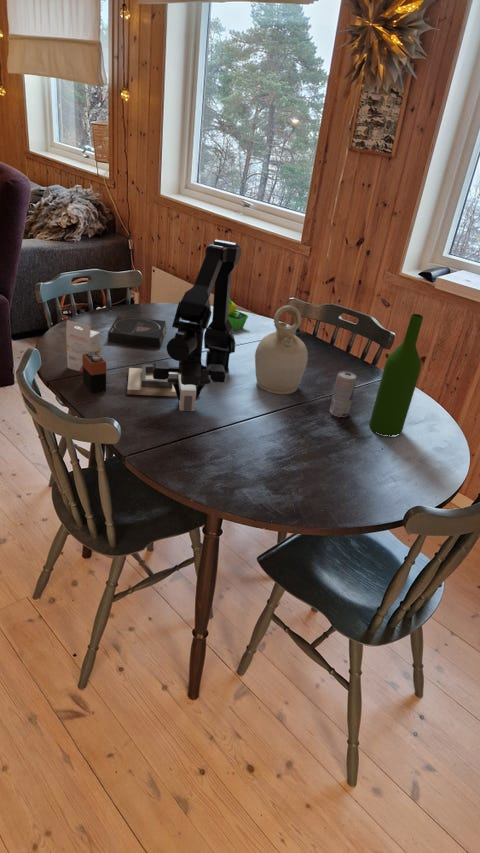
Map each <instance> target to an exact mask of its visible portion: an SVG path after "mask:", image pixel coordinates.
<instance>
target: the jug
mask: <svg viewBox="0 0 480 853" xmlns="http://www.w3.org/2000/svg"><path fill="white" fill-rule="evenodd" d="M286 312H292V313H293V314H294V316H295V322H294V323H293V324H292V325H290V326H288V323H287V322H284V321H282V322H280V318H281V316H282V315H283V314H284V313H286ZM301 315H302V314H301V313H300V311H299V309H298V308H296V307H295V306H294V305H290V304H287V305H283V306H281V307H280V308H278V309H277V311H276V312H275V314H274V317H273V323H274V324H273V325H274V327H275V329H276V330H275V331H274V332H272V333H269V334H267V335H265V336H264V337H263V338H262V339H260V341H259V343H258V345H257V346H256V349H255V352H254V354H255V355H254V364H255V378H256V383H257V386H258V387H259V388H260V389H261V390H263V391H265V392H267V393H270V394H274V395H282V396H283V395H289V394H294V393H295V392H296V391H297V390H298V386H299V385H300V383H301V381H302V378H303V376H304V373H305V370H306V369H307V365H308V360H309V359H308V357H309V356H308V349H307V346H306V345H305V343H304V342H303V341H302V339H301V338H299V337H298V336H297V335H296V334H294V332H295V331H297V329H299V327H300V325H301V322H302V316H301Z"/></svg>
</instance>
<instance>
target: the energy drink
mask: <svg viewBox="0 0 480 853" xmlns="http://www.w3.org/2000/svg"><path fill="white" fill-rule="evenodd" d="M357 377H358V376H357V375H356V374H355V373H353V372H351V371H349V370H348V371H346V370H341V371H339V372H338V373H337V376H336V380H335V384H334V388H333V394H332V398H331V402H330V407H329V412H330V414H331V415H332V416H333V415H334V417H336V416H337V417H336V418H340V417H343V418H346V417H348V416H349V412H350V408H351V406H352V405H351V404H352V401H353V396H354V394H355V393H354V392H355V388H356V383H357Z"/></svg>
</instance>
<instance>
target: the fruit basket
mask: <svg viewBox="0 0 480 853" xmlns="http://www.w3.org/2000/svg"><path fill="white" fill-rule="evenodd" d="M236 308H237V305H236V303H234V301H232V300H231V298H230V300H229V312H228V320H229V322H230V323H231V325H232V327H233V331H236V330H240V329H243V328H244V326H245V324H246V323H247V319H248V318H249V315H248V314H246V313H243V312H242V311H239V310H237V309H236Z"/></svg>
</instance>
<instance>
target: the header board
mask: <svg viewBox="0 0 480 853" xmlns="http://www.w3.org/2000/svg"><path fill="white" fill-rule="evenodd" d="M141 365H142V366H141V367H139V368H137V367H129V368H128V380H127V388H126V389H127V391H126V392H127V393H126V394H127V395H137V396H138V395H139V396H140V395H141V396H159V397H160V396H161V397H177V394H176V391H175V388H174V386H173V384H172V383H171V382H168V381H167V379H166V380H160V379H154V378H153V365H152V364H141ZM169 367H173V366H171V365H169ZM178 377H179V389H180V380H181V375H179V374H178ZM198 398H201V393H200V394H199V396H198Z"/></svg>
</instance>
